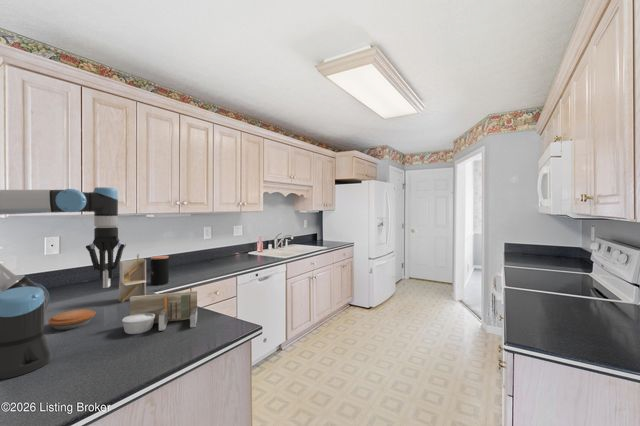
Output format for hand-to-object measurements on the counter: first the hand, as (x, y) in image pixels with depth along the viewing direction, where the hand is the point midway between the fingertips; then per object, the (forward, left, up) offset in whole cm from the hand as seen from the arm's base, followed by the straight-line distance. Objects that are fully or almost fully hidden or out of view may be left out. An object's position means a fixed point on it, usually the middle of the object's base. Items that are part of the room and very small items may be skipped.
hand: (106, 286), depth 115 cm
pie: (+16, +17, -19) cm, 30 cm away
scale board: (+6, -19, -18) cm, 28 cm away
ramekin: (0, -11, -19) cm, 22 cm away
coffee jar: (+83, -5, -19) cm, 85 cm away
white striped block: (0, -31, -18) cm, 36 cm away
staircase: (+48, +2, -19) cm, 51 cm away
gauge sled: (0, -20, -18) cm, 27 cm away
